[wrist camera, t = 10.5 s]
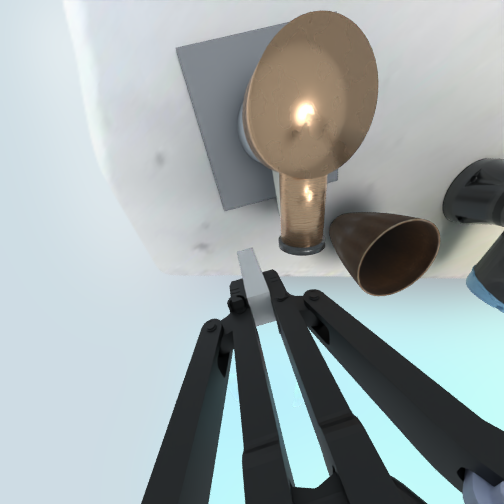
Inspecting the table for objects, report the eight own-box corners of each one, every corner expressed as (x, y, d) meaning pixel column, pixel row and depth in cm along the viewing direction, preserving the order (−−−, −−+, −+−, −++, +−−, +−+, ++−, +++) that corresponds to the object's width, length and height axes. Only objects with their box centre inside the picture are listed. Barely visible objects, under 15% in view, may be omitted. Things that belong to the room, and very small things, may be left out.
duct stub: (335, 198, 43) (370, 211, 33) (229, 227, 41) (235, 250, 32) (333, 15, 29) (392, -52, 20) (176, 51, 28) (157, -2, 18)
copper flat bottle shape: (234, 50, 21) (242, 10, 15) (347, 43, 22) (396, 4, 16) (254, 242, 32) (264, 263, 26) (329, 229, 33) (355, 246, 27)
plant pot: (377, 236, 50) (441, 270, 36) (325, 266, 51) (367, 309, 37) (365, 184, 42) (439, 200, 28) (305, 219, 44) (348, 251, 30)
